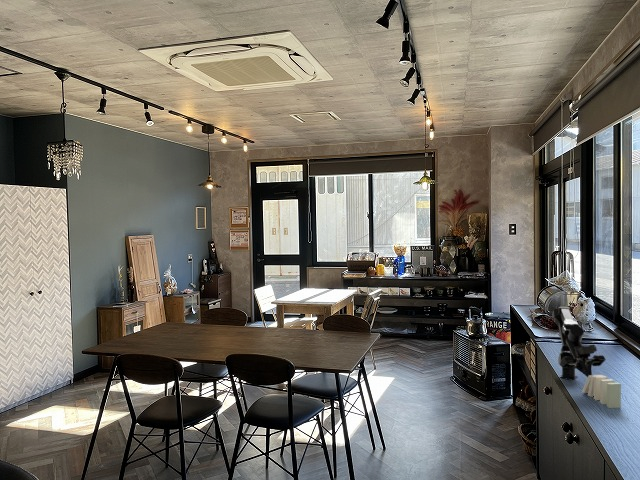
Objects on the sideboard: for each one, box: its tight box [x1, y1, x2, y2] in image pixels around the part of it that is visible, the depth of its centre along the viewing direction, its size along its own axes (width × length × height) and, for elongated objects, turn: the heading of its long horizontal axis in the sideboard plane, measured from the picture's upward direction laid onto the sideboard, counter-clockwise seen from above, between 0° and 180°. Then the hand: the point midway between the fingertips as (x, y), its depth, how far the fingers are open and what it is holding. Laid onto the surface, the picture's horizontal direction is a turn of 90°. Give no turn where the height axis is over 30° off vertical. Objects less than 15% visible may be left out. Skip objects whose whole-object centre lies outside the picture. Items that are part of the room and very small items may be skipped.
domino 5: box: [606, 382, 622, 409], centre depth 206 cm, size 2×5×10 cm, turn 95°
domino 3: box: [593, 375, 608, 401], centre depth 215 cm, size 2×5×10 cm, turn 95°
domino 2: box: [587, 374, 604, 398], centre depth 218 cm, size 2×5×10 cm, turn 95°
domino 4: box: [599, 378, 615, 405], centre depth 210 cm, size 2×5×10 cm, turn 95°
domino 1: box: [581, 375, 591, 394], centre depth 221 cm, size 2×5×10 cm
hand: (590, 378), depth 221 cm, fingers closed
